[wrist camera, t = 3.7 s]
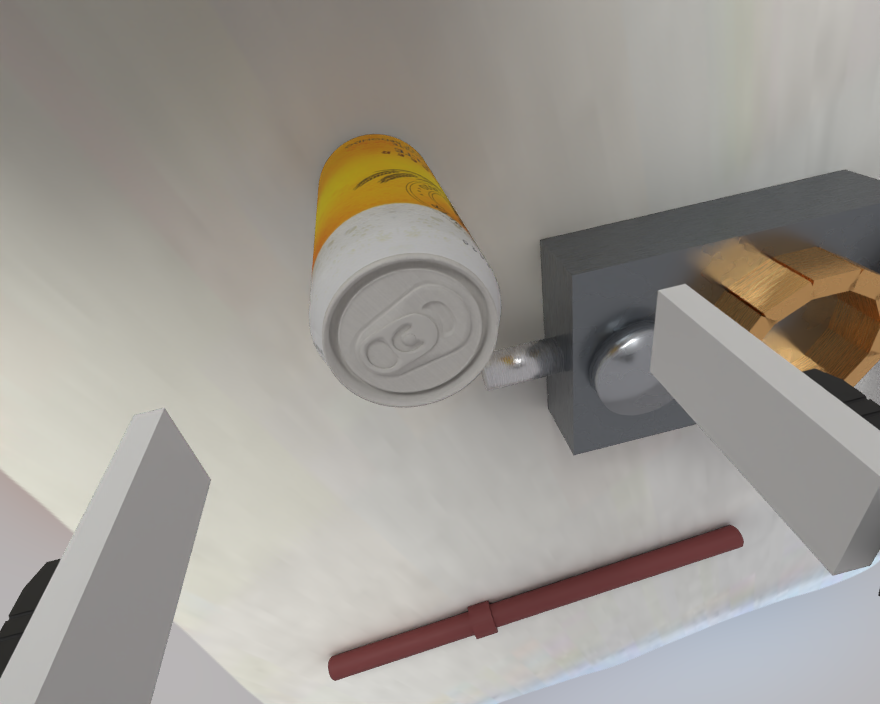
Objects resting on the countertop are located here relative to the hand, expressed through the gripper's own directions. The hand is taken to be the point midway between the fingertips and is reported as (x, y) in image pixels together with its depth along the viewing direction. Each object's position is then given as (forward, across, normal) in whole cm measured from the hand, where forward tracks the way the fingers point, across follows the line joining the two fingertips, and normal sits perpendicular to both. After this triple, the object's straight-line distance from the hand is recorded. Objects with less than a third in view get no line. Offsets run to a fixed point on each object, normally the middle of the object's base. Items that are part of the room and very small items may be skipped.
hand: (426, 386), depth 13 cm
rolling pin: (+18, +6, -44) cm, 48 cm away
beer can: (+17, 0, 0) cm, 17 cm away
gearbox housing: (+17, +16, -12) cm, 26 cm away
